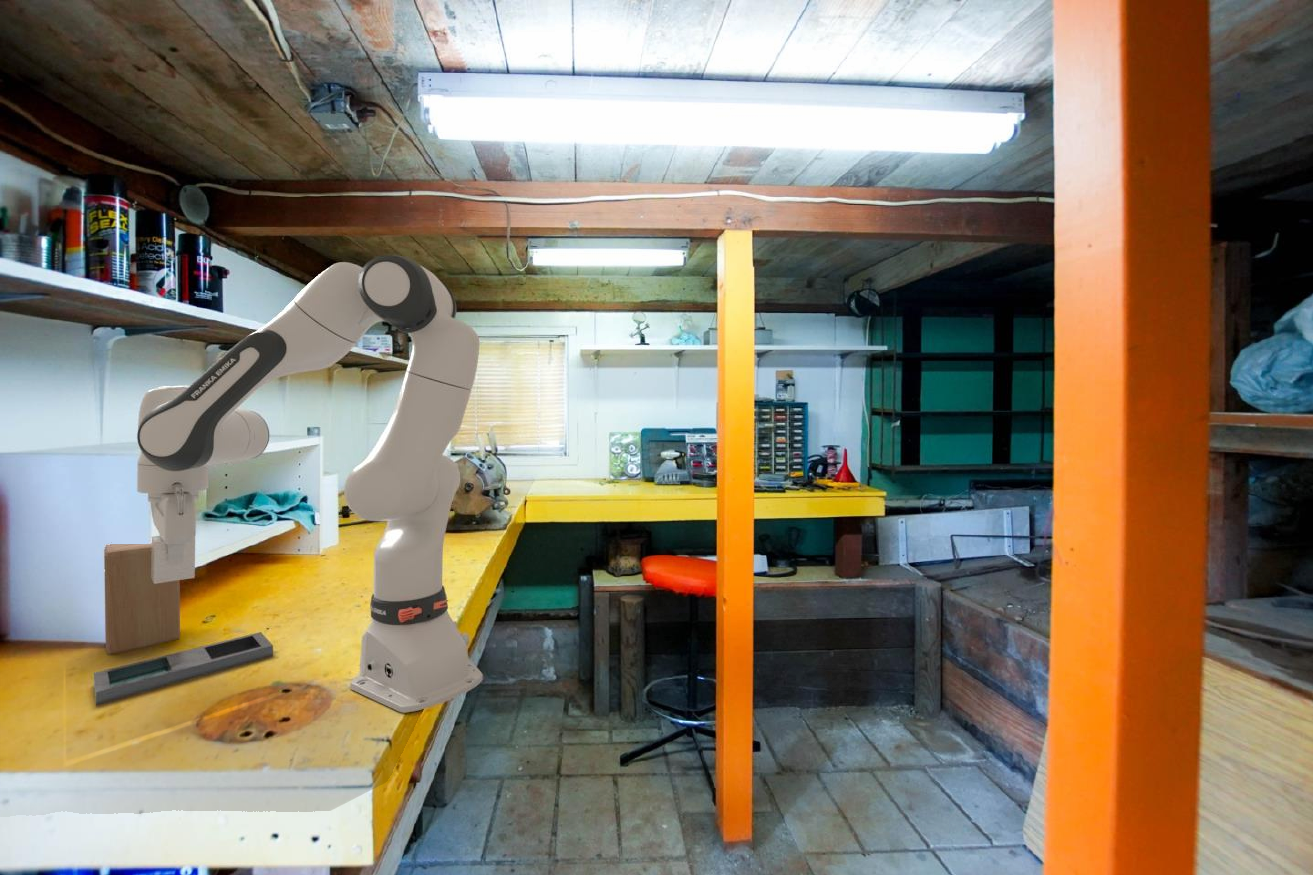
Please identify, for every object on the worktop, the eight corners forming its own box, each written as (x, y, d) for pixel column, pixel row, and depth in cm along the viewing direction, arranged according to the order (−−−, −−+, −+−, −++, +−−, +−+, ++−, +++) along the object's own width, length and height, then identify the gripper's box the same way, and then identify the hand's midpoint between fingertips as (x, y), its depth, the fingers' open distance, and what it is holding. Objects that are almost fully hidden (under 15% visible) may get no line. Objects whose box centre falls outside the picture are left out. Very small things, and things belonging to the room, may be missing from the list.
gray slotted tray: (273, 659, 93) (272, 645, 93) (96, 709, 77) (95, 692, 76) (260, 644, 99) (260, 631, 99) (93, 688, 82) (93, 672, 82)
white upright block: (194, 577, 87) (195, 537, 87) (153, 583, 83) (154, 541, 83) (190, 571, 90) (191, 532, 90) (151, 576, 86) (151, 536, 86)
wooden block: (105, 642, 99) (103, 542, 99) (175, 627, 107) (174, 534, 106) (106, 658, 93) (104, 551, 92) (180, 641, 100) (179, 542, 100)
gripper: (208, 485, 82) (207, 569, 82) (191, 473, 95) (189, 546, 95) (153, 488, 77) (152, 577, 77) (143, 475, 90) (142, 551, 91)
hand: (173, 560), depth 86 cm, fingers closed on white upright block, 5 cm apart
